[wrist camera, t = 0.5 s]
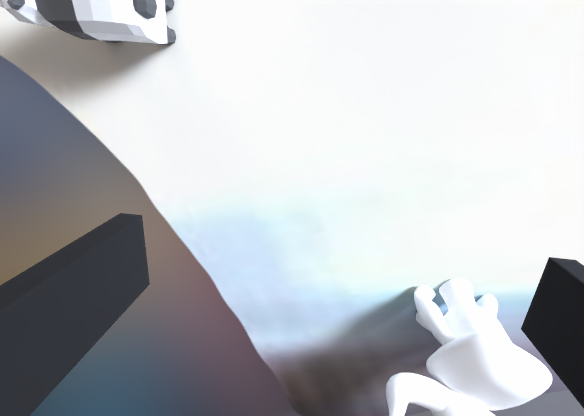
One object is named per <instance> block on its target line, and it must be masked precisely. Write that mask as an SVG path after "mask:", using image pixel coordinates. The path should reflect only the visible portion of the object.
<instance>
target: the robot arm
mask: <svg viewBox="0 0 584 416" xmlns="http://www.w3.org/2000/svg"><path fill="white" fill-rule="evenodd" d="M149 284H150V283H149V275H148V267H147V257H146V248H145V240H144V231H143V221H142V216H141V215H133V214H123V213H120V214H118V215H117V216H115V217H113V218H112V219H110V220H108V221H107V222H105V223H103V224H102V225H100V226H98V227H97V228H95V229H94V230H92V231H90V232H89V233H87V234H85V235H84V236H82V237H80V238H79V239H77V240H75V241H74V242H72V243H70V244H69V245H67V246H65V247H64V248H62V249H60V250H59V251H57V252H55V253H54V254H52V255H50V256H49V257H47V258H45V259H44V260H42V261H40V262H39V263H37V264H35V265H34V266H32V267H30V268H29V269H27V270H26V271H24V272H22V273H21V274H19V275H17V276H16V277H14V278H12V279H11V280H9V281H7V282H5V283H4V284H2V285H1V286H0V416H29V415H30V414H31V413H32V412H33V411H34V410H35V409H36V408H37V407H38V406H39V405H40V403H41V402H42V401H43V400H44V399H45V398H46V397H47V396H48V395H49V394H50V392H51V391H52V390H53V389H54V388H55V387H56V386H57V385H58V384H59V383H60V382H61V380H62V379H63V378H64V377H65V376H66V375H67V374H68V373H69V372H70V371H71V369H72V368H73V367H74V366H75V365H76V364H77V363H78V362H79V361H80V360H81V359H82V357H83V356H84V355H85V354H86V353H87V352H88V351H89V350H90V349H91V348H92V346H93V345H94V344H95V343H96V342H97V341H98V340H99V339H100V338H101V337H102V336H103V335H104V333H105V332H106V331H107V330H108V329H109V328H110V327H111V326H112V325H113V323H115V321H116V320H117V319H118V318H119V317H120V316H121V315H122V314H123V313H124V312H125V311H126V309H127V308H128V307H129V306H130V305H131V304H132V303H133V302H134V301H135V299H136V298H137V297H138V296H139V295H140V294H141V293H142V292H143V291H144V290H145V289H146V288H147V286H148V285H149ZM521 330H522V331H523V332H524V333H525V335H526V336H527V337H528V338H529V340H530V341H531V342H532V344H533V345H534V346H535V347H536V349H537V350H538V351H539V352H540V354H541V355H542V356H543V357H544V359H545V360H546V361H547V363H548V364H549V365H550V366H551V368H552V369H553V370H554V371H555V373H556V374H557V375H558V376H559V378H560V379H561V380H562V381H563V383H564V384H565V385H566V387H567V388H568V389H569V390H570V391H571V393H572V394H573V395H574V397H576V399H577V400H578V402H579V403H580V404H581V405H582V407H583V408H584V266H583V265H582V264H580V263H579V262H578V261H576V260H570V259H560V258H550V257H549V259H548V262H547V264H546V267H545V269H544V272H543V274H542V277H541V279H540V282H539V284H538V287H537V290H536V292H535V295H534V297H533V300H532V302H531V305H530V307H529V310H528V312H527V315H526V317H525V320H524V322H523V325H522V327H521Z"/></svg>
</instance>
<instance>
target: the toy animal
mask: <svg viewBox="0 0 584 416" xmlns="http://www.w3.org/2000/svg"><path fill="white" fill-rule="evenodd" d="M439 292H440V295H441V296H442V298H443V300H444V301H445V303H446V305H447V307H448V312H447V313H446V314H445V315H444V316H443V315H442V313H441V311H440V309H439V307H438V306H437V305H436V304H435V303H434V302H432V299H433V298H434V296H435V292H434V291H433V290H432V289H431V288H430V287H428V286H425V285H420V286H419V287H417V288H416V290H415V292H414V300H415V305H416V308H417V311H418V312H417V314H416V320H417V322H418V323H419V324H420V325H421V326H423V327H424V328H426V329H427V330H429V331H431V332H432V333H433V335H434V337H435V338H436V339H437V340H438V341H439V342H440V343H441V344H442V347H440V348H439V349H438V350H437V351H436V352H434V353H433V354H432V355H431V356H430V357H429V358H428V360H427V363H426V367H427V369H428V372H429V373H430V374H431V375H432V376H433V377H434V378H435V379H436V380H437V381H438V382H437V381H435V380H433V379H430V378H428V377H425V376H422V375H419V374H414V373H398V374H395V375H393V376H392V377H391V378H390V379H389V381H388V382H387V385H386V397H387V402H388V407H389V416H404V414H405V412H406V408H407V405H408V403H413V404H417V405H420V406H423V407H425V408H428V409H430V410H431V414H432V416H495V415H494V414H492V413H491V412H490V411H488V410H502V409H507V408H511V407H515V406H519V405H521V404H524V403H526V402H528V401H530V400H532V399H533V398H535V397H537V396H539V395H540V394H542V393H543V392H544V391H546V390H547V389H548V388H549V386H550V385H551V383H552V375H551V373H550V372H549V370H548V369H547V367H546V366H544V365H543V364H542V363H541V362H540V361H539V360H538V359H536V358H535V357H534V356H532V355H531V354H529V353H527V352H526V351H524V350H523V349H521V348H519V347H517V346H516V345H514V344H513V343H512V342H511V340H510V339H509V337H508V336H507V334H506V332H505V331H504V329H503V327H502V326H501V324H500V323H499V321H498V320H497V319H496V315H497V310H498V303H497V300H496V299H495V297H494V296H492V295H490V294H485V295H483V296H482V297H481V298H480V299H479V300H478V301H477V302H476V303H475V300H474V295H473V289H472V284H471V282H469V281H468V280H466V279H463V278H453V279H451V280H449V281H447V282H446V283H444V284H443V285H442V286H441V287H440V288H439Z"/></svg>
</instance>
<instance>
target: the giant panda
mask: <svg viewBox="0 0 584 416" xmlns="http://www.w3.org/2000/svg"><path fill="white" fill-rule="evenodd" d="M173 5H174V1H173V0H0V6H1V7H3V8H5V9H6V10H7V11H8V12H10V13H11V14H12V15H13V16H14V17H15V18H16V19H17V20H18V21H21V22H26V23H31V24H37V25H43V26H50V27H57V28H59V29H60V30H62V31H64V32H67V33H69V34H71V35H74V36H76V37H79V38H81V39H88V40H103V41H106V42H114V43H116V42H121V41H133V42H145V43H157V44H172V43H175V39H176V35H175V32H174V30H172V29H169V28H168V26H167V24H166V12H165V11H166V10H171V9H173Z"/></svg>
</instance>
